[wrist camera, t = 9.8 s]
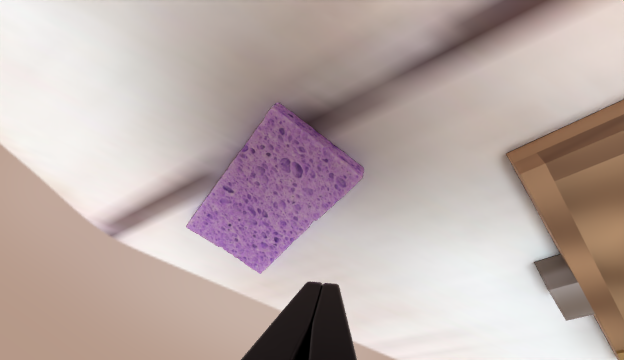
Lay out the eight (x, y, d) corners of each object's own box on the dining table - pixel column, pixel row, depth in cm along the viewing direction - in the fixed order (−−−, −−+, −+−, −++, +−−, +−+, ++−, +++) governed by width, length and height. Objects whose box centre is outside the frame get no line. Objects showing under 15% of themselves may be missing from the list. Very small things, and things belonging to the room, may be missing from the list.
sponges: (366, 164, 22) (364, 179, 20) (265, 261, 28) (258, 278, 27) (279, 95, 21) (270, 105, 19) (195, 213, 27) (183, 228, 25)
